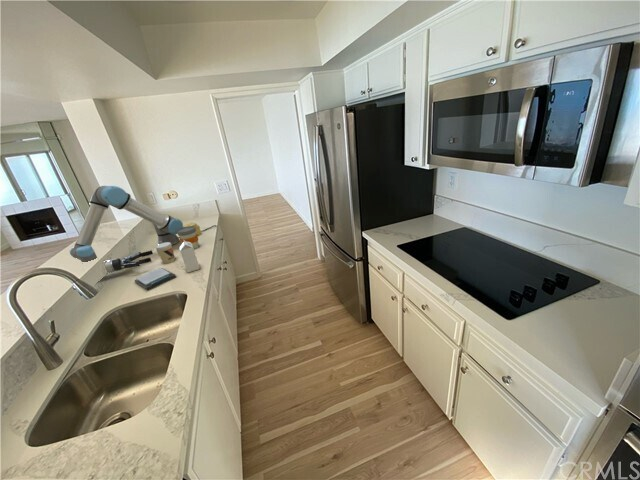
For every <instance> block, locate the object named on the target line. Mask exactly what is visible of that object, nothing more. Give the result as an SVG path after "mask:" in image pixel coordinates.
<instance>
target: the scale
mask: <svg viewBox="0 0 640 480" xmlns="http://www.w3.org/2000/svg"><path fill="white" fill-rule="evenodd" d="M175 278H177V276H176V274H175V273H173V272H171V271H169V270H167V269H165V268H163V267H158V268H157V269H153V270H152V271H149V272H146V273H145V274H143V275H141V276H138V277H136V278H135V279H134V283H135V284H136V285H138V286H139V287H141V288H142V289H144V290H146V291H147V292H149V291H151V290H152V289H155V288H157V287H159V286H161V285H163V284H165V283H167V282H169V281H171V280H173V279H175Z"/></svg>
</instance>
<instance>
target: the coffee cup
mask: <svg viewBox="0 0 640 480" xmlns="http://www.w3.org/2000/svg"><path fill="white" fill-rule="evenodd" d="M155 250H156V252H157V254H158V256H159V257H160V260H161V262H162V263H163V264H169V263H172V262H174V261H175V260H176V257H175V252H174V249H173V245H171V243H170V242H165V243H161V244H159V245H158V244H157V245H156V246H155Z"/></svg>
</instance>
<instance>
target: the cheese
mask: <svg viewBox="0 0 640 480" xmlns="http://www.w3.org/2000/svg"><path fill="white" fill-rule="evenodd" d="M188 226H194V227H195V228H196V233H197V236H200V235H202V234H203V233H202V232H203V231H202V230H201V227H200V225H198V224H197V223H195V222H188V223H186V224H183V228H184V227H188ZM201 231H202V232H201Z"/></svg>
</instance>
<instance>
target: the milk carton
mask: <svg viewBox="0 0 640 480" xmlns="http://www.w3.org/2000/svg"><path fill="white" fill-rule="evenodd" d="M179 253H180V255H181V259H182V262H183V264H184V266H185V267H184V268H185V269H186V273H191V272H195V271H197V270H200V267H201V266H200V263H199V261H198V257H197V254H196V252H195V249H194V248H193V245H192V244H191V243H190V242H186V241H184V242H183V243H182V242H181V245H180V246H179Z"/></svg>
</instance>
